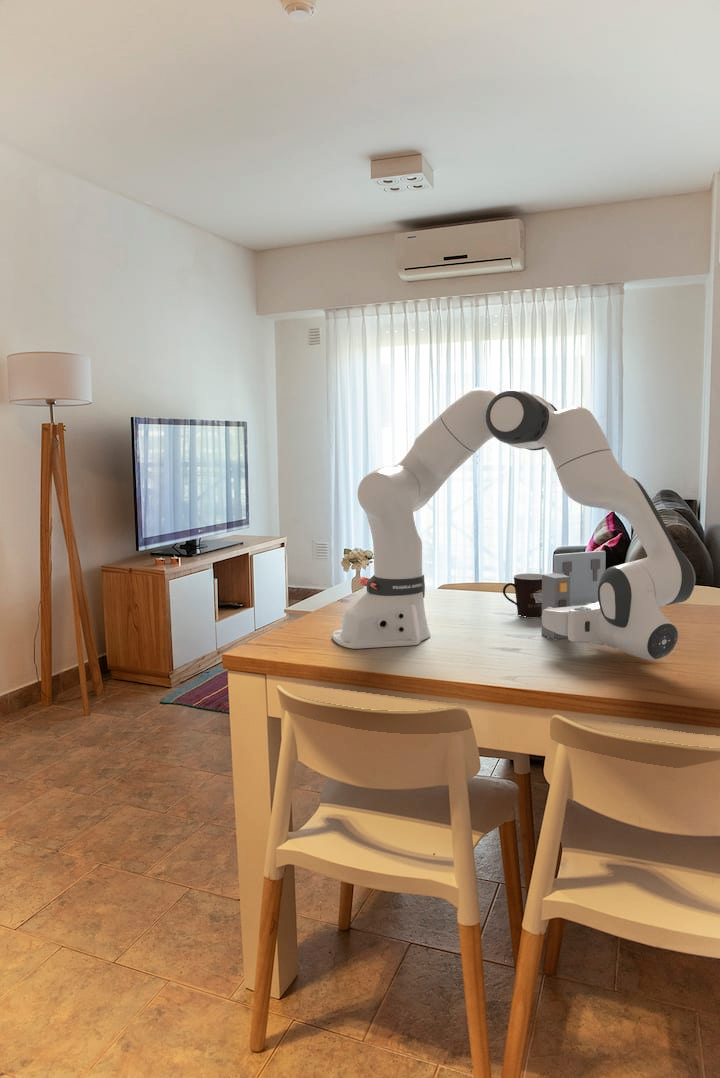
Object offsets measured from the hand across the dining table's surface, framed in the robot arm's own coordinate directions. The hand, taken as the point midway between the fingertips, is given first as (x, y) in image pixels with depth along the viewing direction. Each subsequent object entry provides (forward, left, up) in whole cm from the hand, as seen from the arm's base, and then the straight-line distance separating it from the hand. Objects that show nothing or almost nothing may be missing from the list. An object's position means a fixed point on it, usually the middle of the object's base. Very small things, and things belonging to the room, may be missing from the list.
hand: (567, 608), depth 163 cm
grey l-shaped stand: (+13, +10, -8) cm, 18 cm away
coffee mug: (+5, +26, -8) cm, 28 cm away
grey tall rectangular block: (0, +5, -8) cm, 9 cm away
